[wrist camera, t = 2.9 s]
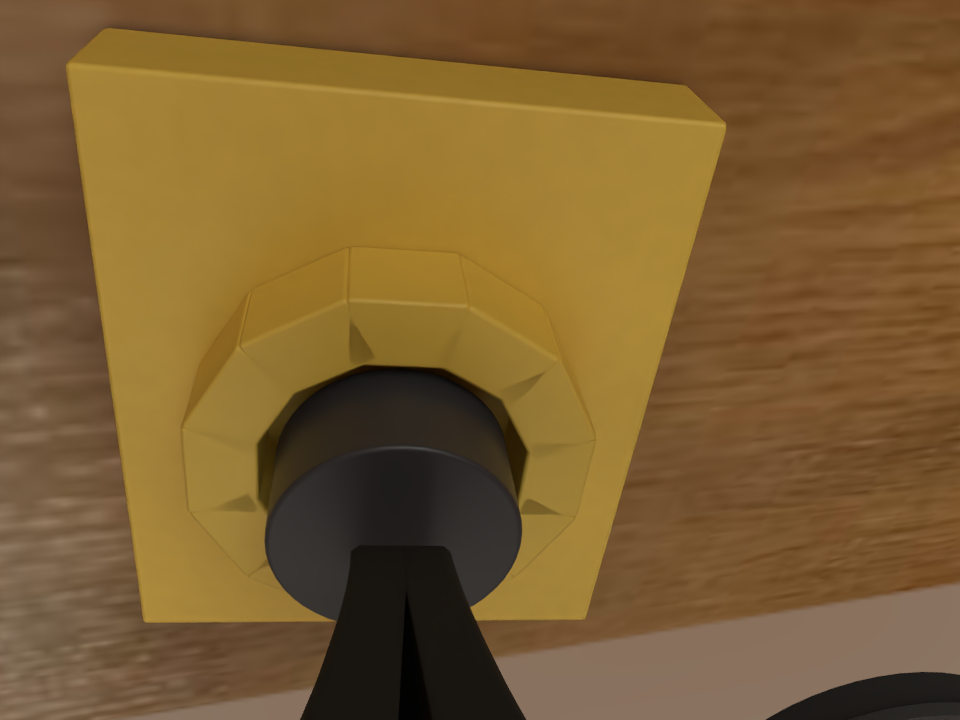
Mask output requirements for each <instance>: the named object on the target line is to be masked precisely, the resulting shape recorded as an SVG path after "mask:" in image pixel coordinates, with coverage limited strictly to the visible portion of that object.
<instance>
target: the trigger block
mask: <svg viewBox="0 0 960 720" xmlns="http://www.w3.org/2000/svg"><path fill="white" fill-rule="evenodd" d="M66 73H67V80H68V87H69V95H70V102H71V109H72V116H73V123H74V130H75V137H76V144H77V151H78V159H79V166H80V173H81V180H82V187H83V194H84V201H85V208H86V215H87V223H88V230H89V237H90V244H91V251H92V258H93V265H94V272H95V279H96V287H97V294H98V301H99V308H100V315H101V322H102V329H103V336H104V343H105V351H106V358H107V365H108V372H109V379H110V386H111V393H112V400H113V408H114V415H115V422H116V429H117V436H118V443H119V450H120V457H121V464H122V472H123V479H124V486H125V493H126V500H127V507H128V514H129V521H130V528H131V536H132V543H133V550H134V557H135V564H136V571H137V578H138V585H139V592H140V600H141V607H142V614H143V620H144V622H147V623H172V622H323V621H334V620H331V619H328V618H325V617H323V616H321V615H319V614H316V613H314V612H313V611H311V610H309V609H308V608H306V607H304V606H303V605H301V604H300V603H299V602H297V601H296V600H295V599H293V598H292V597H291V596H290V595H289V594H288V593H287V592H286V591H285V590H284V589H283V587H282V586H281V585H280V583H279V582H278V581H277V579H276V578H275V576H274V574H273V572H272V570H271V568H270V566H269V563H268V560H267V556H266V552H265V543H264V539H265V527H266V520H267V513H268V506H269V498H270V491H271V484H272V477H273V470H274V462H275V455H276V449H277V445H278V441H279V437H280V435H281V433H282V430H283V428H284V426H285V424H286V423H287V421H288V420H289V418H290V417H291V415H292V414H293V413H294V412H295V411H296V410H297V408H298V407H299V406H300V405H301V404H302V403H303V402H304V401H306V400H307V399H308V398H309V397H310V396H311V395H313V394H314V393H316V392H317V391H319V390H320V389H322V388H323V387H325V386H327V385H329V384H331V383H333V382H335V381H337V380H339V379H342V378H345V377H347V376H350V375H353V374H357V373H361V372H366V371H371V370H379V369H411V370H419V371H424V372H428V373H433V374H436V375H439V376H442V377H445V378H447V379H450V380H452V381H454V382H456V383H458V384H460V385H462V386H463V387H465V388H466V389H468V390H469V391H471V392H472V393H473V394H475V395H476V396H477V397H478V398H479V399H480V400H482V401H483V402H484V403H485V404H486V406H487V407H488V408H489V409H490V410H491V411H492V413H493V414H494V416H495V417H496V419H497V421H498V422H499V425H500V427H501V429H502V432H503V435H504V439H505V443H506V448H507V453H508V457H509V462H510V467H511V472H512V476H513V481H514V486H515V491H516V495H517V500H518V505H519V510H520V515H521V519H522V540H521V545H520V549H519V552H518V555H517V558H516V560H515V562H514V564H513V566H512V568H511V570H510V571H509V573H508V574H507V576H506V577H505V579H504V580H503V581H502V582H501V583H500V584H499V585H498V587H497V588H496V589H495V590H494V591H492V592H491V593H490V594H489V595H488V596H487V597H485V598H484V599H483V600H481V601H480V602H478V603H477V604H475V605H474V606H472V607H470V608H471V611H472V613H473V615H474V618H475V620H583V619H585V618H586V614H587V611H588V607H589V604H590V601H591V597H592V594H593V590H594V587H595V583H596V580H597V576H598V573H599V569H600V566H601V562H602V559H603V555H604V552H605V549H606V545H607V542H608V538H609V535H610V531H611V528H612V524H613V521H614V517H615V514H616V510H617V507H618V503H619V500H620V496H621V493H622V490H623V486H624V483H625V479H626V476H627V472H628V469H629V465H630V462H631V458H632V455H633V451H634V448H635V444H636V441H637V438H638V434H639V431H640V427H641V424H642V420H643V417H644V413H645V410H646V406H647V403H648V399H649V396H650V392H651V389H652V386H653V382H654V379H655V375H656V372H657V368H658V365H659V361H660V358H661V354H662V351H663V347H664V344H665V340H666V337H667V334H668V330H669V327H670V323H671V320H672V316H673V313H674V309H675V306H676V302H677V299H678V295H679V292H680V288H681V285H682V282H683V278H684V275H685V271H686V268H687V264H688V261H689V257H690V254H691V250H692V247H693V243H694V240H695V236H696V233H697V230H698V226H699V223H700V219H701V216H702V212H703V209H704V205H705V202H706V198H707V195H708V191H709V188H710V184H711V181H712V178H713V174H714V171H715V167H716V164H717V160H718V157H719V153H720V150H721V146H722V143H723V139H724V136H725V132H726V129H727V126H726V123H725V122H724V121H723V120H722V119H721V118H720V117H719V116H718V115H717V114H716V113H714V112H713V111H712V110H711V109H710V108H709V107H708V106H707V105H706V104H705V103H704V102H703V101H702V100H701V99H700V98H699V97H697V96H696V95H695V94H694V93H693V92H692V91H691V90H690V89H689V88H688V87H686V86H685V85H678V84H668V83H658V82H648V81H638V80H628V79H618V78H607V77H597V76H587V75H577V74H567V73H557V72H547V71H537V70H527V69H517V68H507V67H497V66H487V65H476V64H466V63H456V62H446V61H436V60H426V59H416V58H406V57H396V56H386V55H376V54H366V53H356V52H345V51H335V50H325V49H315V48H305V47H295V46H285V45H275V44H265V43H255V42H245V41H235V40H225V39H214V38H204V37H194V36H184V35H174V34H164V33H154V32H144V31H134V30H124V29H114V28H106V29H103V30H102V31H101V32H100V33H99V34H98V35H97V36H96V37H95V38H93V39H92V40H91V41H90V42H89V43H88V44H87V45H86V46H85V47H84V48H83V49H81V50H80V51H79V52H78V53H77V54H76V55H75V56H74V57H73V58H72V59H70V60H69V61H68V62H67V64H66Z"/></svg>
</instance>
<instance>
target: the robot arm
mask: <svg viewBox="0 0 960 720" xmlns="http://www.w3.org/2000/svg"><path fill="white" fill-rule="evenodd" d="M300 720H526V719H525V717H524V715H523V713H522V712H521V710H520V708H519V706H518V705H517V703H516V701H515V699H514V697H513V695H512V693H511V692H510V690H509V688H508V686H507V684H506V682H505V680H504V679H503V676H502V674H501V672H500V670H499V668H498V666H497V664H496V662H495V660H494V658H493V656H492V654H491V652H490V650H489V648H488V646H487V644H486V642H485V640H484V638H483V636H482V633H481V631H480V629H479V627H478V625H477V622H476V620H475V618H474V615H473V613H472V611H471V608H470V606H469V603H468V601H467V598H466V596H465V593H464V591H463V588H462V586H461V583H460V580H459V577H458V574H457V571H456V568H455V565H454V562H453V559H452V555H451V552H450V551H449V550H448V549H447V548H446V547H445V546H384V545H359V546H358V547H356V548H355V549H353V550H352V551H351V556H350V568H349V574H348V580H347V585H346V590H345V594H344V598H343V602H342V606H341V609H340V613H339V617H338V620H337V624H336V627H335V630H334V633H333V636H332V639H331V642H330V644H329V647H328V650H327V653H326V656H325V659H324V662H323V665H322V668H321V670H320V673H319V676H318V678H317V681H316V683H315V686H314V688H313V691H312V693H311V695H310V698H309V700H308V703H307V705H306V707H305V710H304V712H303V714H302V717H301V719H300Z"/></svg>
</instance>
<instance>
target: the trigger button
mask: <svg viewBox="0 0 960 720" xmlns="http://www.w3.org/2000/svg"><path fill="white" fill-rule="evenodd" d="M521 540H522V519H521V515H520V510H519V505H518V500H517V495H516V491H515V486H514V481H513V476H512V472H511V467H510V462H509V457H508V453H507V448H506V443H505V439H504V435H503V432H502V429H501V427H500V425H499V422H498V421H497V419H496V417H495V416H494V414H493V413H492V411H491V410H490V409H489V408H488V407H487V406H486V404H485V403H484V402H483V401H482V400H480V399H479V398H478V397H477V396H476V395H475V394H473V393H472V392H471V391H469V390H468V389H466V388H465V387H463V386H462V385H460V384H458V383H456V382H454V381H452V380H450V379H447V378H445V377H442V376H439V375H436V374H433V373H428V372H424V371H419V370H411V369H379V370H371V371H366V372H361V373H357V374H353V375H350V376H347V377H345V378H342V379H339V380H337V381H335V382H333V383H331V384H329V385H327V386H325V387H323V388H322V389H320V390H319V391H317V392H316V393H314V394H313V395H311V396H310V397H309V398H308V399H307V400H306V401H304V402H303V403H302V404H301V405H300V406H299V407H298V408H297V410H296V411H295V412H294V413H293V414H292V415H291V417H290V418H289V420H288V421H287V423H286V424H285V426H284V428H283V430H282V433H281V435H280V437H279V441H278V445H277V449H276V455H275V462H274V470H273V477H272V484H271V491H270V498H269V506H268V513H267V520H266V527H265V539H264V543H265V552H266V556H267V560H268V563H269V566H270V568H271V570H272V572H273V574H274V576H275V578H276V579H277V581H278V582H279V583H280V585H281V586H282V587H283V589H284V590H285V591H286V592H287V593H288V594H289V595H290V596H291V597H292V598H293V599H295V600H296V601H297V602H299V603H300V604H301V605H303V606H304V607H306V608H308V609H309V610H311V611H313V612H314V613H316V614H319V615H321V616H323V617H325V618H328V619H331V620H334V621H337V620H338V617H339V613H340V609H341V606H342V602H343V598H344V594H345V590H346V585H347V580H348V574H349V568H350V556H351V551H352V550H353V549H355V548H356V547H358V546H359V545H384V546H445V547H446V548H447V549H448V550H449V551H450V552H451V555H452V559H453V562H454V565H455V568H456V571H457V574H458V577H459V580H460V583H461V586H462V588H463V591H464V593H465V596H466V598H467V601H468V603H469V606H470V607H472V606H474V605H475V604H477V603H478V602H480V601H481V600H483V599H484V598H485V597H487V596H488V595H489V594H490V593H491V592H492V591H494V590H495V589H496V588H497V587H498V585H499V584H500V583H501V582H502V581H503V580H504V579H505V577H506V576H507V574H508V573H509V571H510V570H511V568H512V566H513V564H514V562H515V560H516V558H517V555H518V552H519V549H520V545H521Z"/></svg>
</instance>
